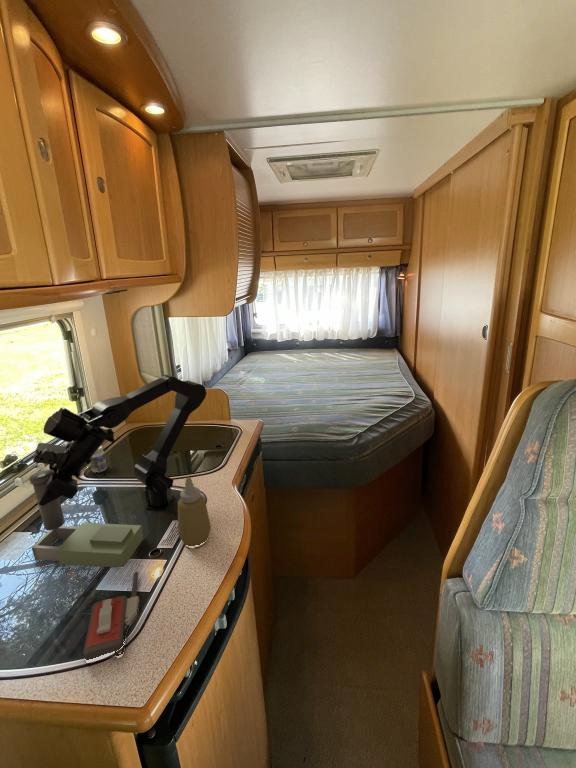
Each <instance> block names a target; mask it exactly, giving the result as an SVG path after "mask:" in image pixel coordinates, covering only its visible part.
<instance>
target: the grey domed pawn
mask: <svg viewBox="0 0 576 768" xmlns="http://www.w3.org/2000/svg"><path fill="white" fill-rule="evenodd" d="M54 473H55V471H54V470H50V469H43V470H42V469H41V470H39V471H36V472H34V473H33V474H31V475H30V476H29V479H28V480H29V482H30V483H29V484H31V485H32V486H33V491H34V494H35V498H36V501H37V504H38V505H37V506H38V510H39V513H40V517H41V520H42V521H41V522H42V523H43V528H44V529H45V531H49V530H54V529H57V528H59V527H61V526H64V524H65V518H64V513H63V509H62V505H61V501H60V497H59V498H57V499H55V500H53V501H51V502H49V503H48V504H46V505H44V506H41V505H39V502H40V500H41V498H42V496H43V494H44V493H45V491H46V489H47V488H46V485H47V483H46V481H47V477H49V478H50V476H51V475H52V474H54Z"/></svg>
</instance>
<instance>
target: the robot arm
mask: <svg viewBox="0 0 576 768" xmlns="http://www.w3.org/2000/svg"><path fill="white" fill-rule="evenodd" d="M172 391H173V392H175V397H174V400H175V401H174V406H173V407H174V408H173V409H172V411H171V414H170V415H169V418H168V419H167V421H166V423H165V425H164V427H163V428H162V430H161V432H160V434H159V437H158V438H157V440H156V442H155V444H154V446H153V448H152V450H151V451H150V452H149V453H147V454H146V455H144V454H140V456H139V458H138V461H137V463H136V464H135V465H134V466H133V467H134V471H133V474H134V477H135V479H136V480H137V481H139V482H140V483H142V484H143V485H144V486H145V487H144V489H145V491H144V498H145V503H146V505H145V506H144V507H145V509H146V510H158V511H159V510H161V511H162V510H163V511H165V510H168V508H169V507H170V505H171V504H172V503H173V501H174V500H175V497H176V495H173V493H172V488H173V485H174V479H173V478H171V477H170V476H168V475H167V472H168V458H169V456H170V454H171V452H172V450H173V448H174V446H175V444H176V443H177V440H178V439H179V437H180V435H181V433H182V431H183V428H184V427H185V425H186V423H187V421H188V419H189V417H190V415H191V414H192V413H193V412H195V411H196V410H197V409H198V408H200V406H201V405H202V403H203V402H204V401H205V399H206V397H207V389H206V387H205V386H204V384H201V383H198V382H194V381H191V380H181V379H179V378H177V377H176V376H173V375H169V374H164V375H162V376H160V377H159V378H157V379H155V380H153V381H151V382H149V383H147V384H145V385H143V386H141V387H139V388H137V389H134V390H133V391H131V392H128V393H126V394H124V395H122V396H116V397H110V398H107V399H103V400H99V401H97V402H95V404H93V405H92V407H90V408H89V409H86V410H84V411H82V412H78V413H74V412H72V411H71V410H69V409H67V408H66V407H64V406H62V407H60V408H59V410H58V411H57V410H56V411H55V412H54V413H53V414H51V416H49V417H48V418H47V420H46V421H45V423H44V426H43V434H46V435H48V436H50V437H52V438H53V437H54V438H56V439H58V440H61V441H63V442H66V445H64V446H62V445H59V444H53V443H45V442H38V443H37V445H36V449H35V453H34V455H33V460H32V461H33V462H34V463H36V464H45V465H48V467H49V469H48V470H54V471H55V473H54V474H52V475H51V476H50V478H49V477H47V481H46V483H47V485H46V488H47V489H46V491H45V493H44V494H43V496H42V498H41V500H40V502H39V505H41V506H44V505H46V504H48V503H49V502H51V501H53V500H55V499H57V498H59V499H60V498H61V497H65V498H67V499H74V497H75V496H76V495H77V494H78V493H79V492H78V491H79V484H78V480H77V479H75V478H73V476H74V477H76V478H79V477H80V476H81V474H82V473H81V471H82V470H83V469H84V467H85V466H86V465H87V464H88V465H90V464H91V461H92V456H93V455H94V454H95V452H96V451H97V450H98V449H99V447H100V446H102V445H103V444H104V443H105V441H107V442H110V443H113V444H114V443H115V438H114V435H115V433H114V431H113V429H114V428H116V427H118V426H120V425H121V424H122V423H124V421H125V422H126V420H127V419H128V418H130V415H132V413H133V412H135V411H136V410H138V409H140V408H141V407H143V406H145V405H147V404H149V403H151V402H153V401H155V400H157V399H159V398H161V397H162V396H164V395H166V394H167V393H170V392H172ZM103 427H104V428H103Z"/></svg>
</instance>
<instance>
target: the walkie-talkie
mask: <svg viewBox="0 0 576 768" xmlns="http://www.w3.org/2000/svg"><path fill="white" fill-rule="evenodd" d="M132 577H133V578H132V586H131V588H132V589H131V595H130V597H127V595H120V596H116V597H115V596H114V597H112V598H108V599H107V598H103V599H102V600H99V601H97V602H95V603H93V605H92V607H91V612H90V617H89V622H88V627H87V630H86V631H87V633H86V637H85V641H84V646H83V652H82V655H83V659H84V658H85V659H86V660H89V659H93V658H96V657H99V656H101V655H104V654H107V653H111V652H113V651H115V655H116V656H119V655H121V654H123V652H124V647H125V645H124V644H123V642H124V641H125V638H126V639H127V637H125V636H126V632H127V629H128V628H129V626H130V623H131V621H132V620H133V619H134V617H135V616H136V615H137V609H138V610H139V608H138V603H139V602H140V598H139V596H138V593H137V592H138V583H139V582H138V581H139V572H138V571H135V572H134V573H133V576H132ZM125 625H126V626H127V628H126V629H125ZM124 629H125V630H124ZM127 633H128V632H127ZM123 636H124V637H123ZM123 639H124V641H123ZM124 643H125V642H124ZM123 645H124V646H123ZM122 646H123V650H122V652H121V654H117V653H116V651H117V650H119V649H120V648H121V647H122ZM125 648H126V647H125Z"/></svg>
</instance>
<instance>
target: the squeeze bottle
mask: <svg viewBox="0 0 576 768" xmlns="http://www.w3.org/2000/svg"><path fill="white" fill-rule="evenodd" d="M179 496H180V498H179V500H178V501H177V529H178V530H177V532H178V533H177V534H178V537H179V538H180V540H181V541H182V542H183V543H182V544H183V545H188V546H195V545H200V544H201V543H203V542H205V541H206V540H207V538H208V539H209V537H208V536H210V533H211V529H212V525H211V521H210V518H209V517H210V516H209V512H208V508H207V505H206V500H205V497H204V496H203V495H202V494H201V491H200V488H198V487H196V486H195V485H194V483H193V481H192V478H191V477H186V478H185V483H184V489H182V490H181V492H180V494H179ZM207 541H208V540H207Z"/></svg>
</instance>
